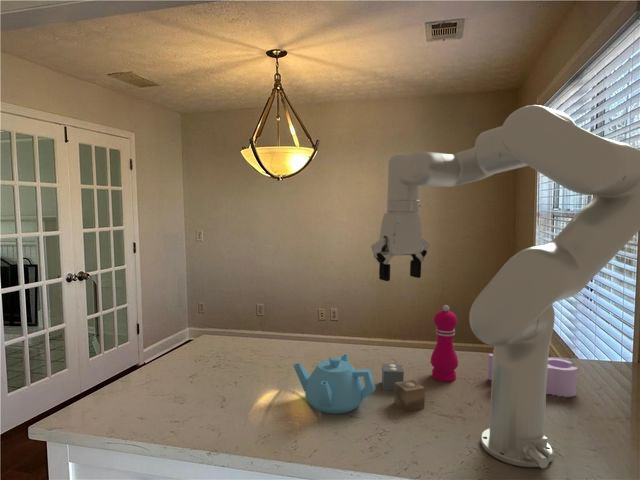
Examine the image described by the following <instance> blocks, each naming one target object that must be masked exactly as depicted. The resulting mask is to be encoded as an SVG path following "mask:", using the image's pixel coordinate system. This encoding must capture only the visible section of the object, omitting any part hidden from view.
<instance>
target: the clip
mask: <svg viewBox="0 0 640 480" xmlns="http://www.w3.org/2000/svg"><path fill="white" fill-rule="evenodd" d="M492 359H493V353H489V354H488V360H487V361H488V363H487V364H488V365H487V367H488V368H487V380H488V379H489V380H488V381H491V380H492ZM577 381H578V367H576V366H573V362H572V361H570V360H565V359H562V358H552V357H548V370H547V386H546V394H552V395H551V396H555V395H557V396H556V397H561V396H564V397H563V398H571V397H575V396H577V387H578V386H577V385H578V382H577Z"/></svg>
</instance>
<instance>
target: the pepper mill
mask: <svg viewBox="0 0 640 480" xmlns="http://www.w3.org/2000/svg"><path fill="white" fill-rule="evenodd" d="M433 323H434V325H435V326H436V328H435V334H436V336H437V338H436V339H437V342H436V345H435V347H434V349H433V351H432V354H431V357H430V364H431V366H432V371H431V375H432V377H433V379H434V380H437V381H440V382H453V381H455V380H456V378H457V372H456V369H457V367H458V366H459V359H458V356H457V353H456V350H455V348H454V342H453V339H454V336H455V334H456V333H455V332H456V330H455V327H456V326H457V325H458V318H457V315H456V314H455V313H454V312H452V311H450V306H449V305H447V304H445V305H443V306H442V310H439V311H437V312H436V313H435V315H434V318H433Z"/></svg>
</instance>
